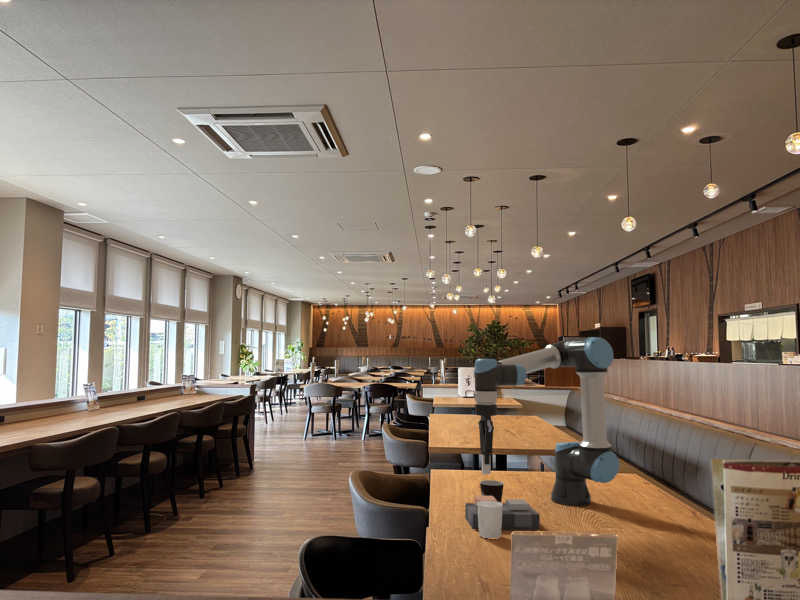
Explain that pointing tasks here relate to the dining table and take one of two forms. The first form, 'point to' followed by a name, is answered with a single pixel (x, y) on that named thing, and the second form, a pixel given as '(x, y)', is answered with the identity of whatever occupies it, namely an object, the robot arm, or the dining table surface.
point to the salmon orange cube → (483, 498)
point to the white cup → (490, 519)
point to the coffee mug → (492, 489)
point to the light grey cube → (517, 504)
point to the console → (507, 518)
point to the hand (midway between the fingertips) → (486, 473)
